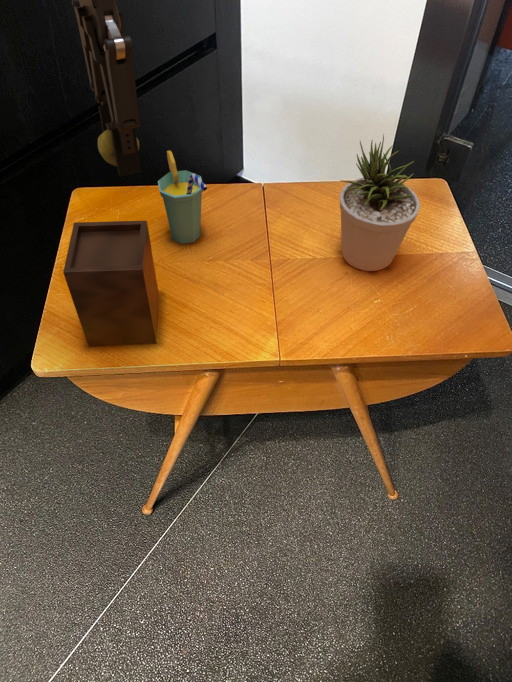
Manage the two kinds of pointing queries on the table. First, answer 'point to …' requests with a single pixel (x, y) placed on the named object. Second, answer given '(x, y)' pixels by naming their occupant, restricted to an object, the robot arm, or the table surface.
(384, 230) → the potted plant
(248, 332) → the table surface
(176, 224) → the cup
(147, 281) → the dark brown box
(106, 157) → the lime
